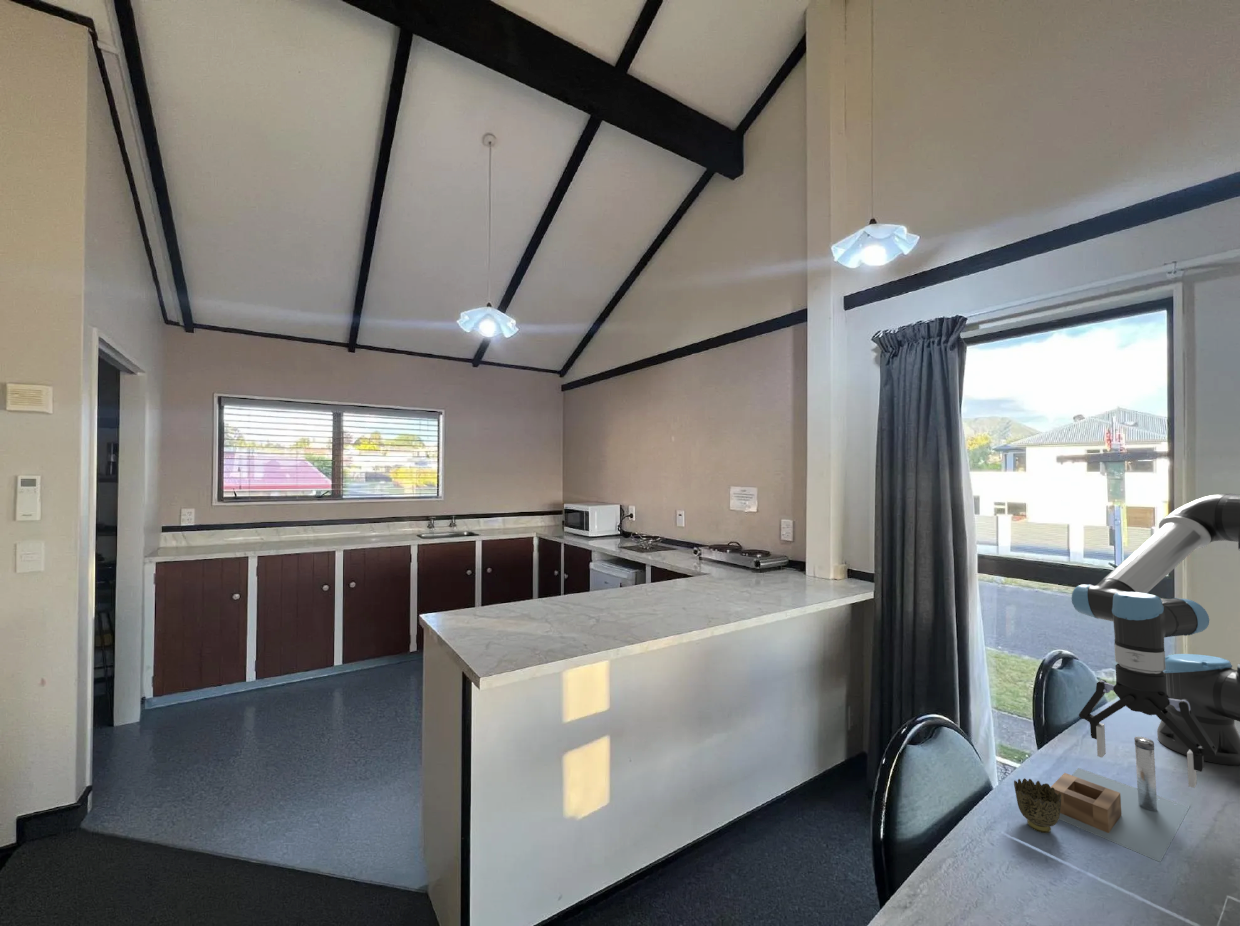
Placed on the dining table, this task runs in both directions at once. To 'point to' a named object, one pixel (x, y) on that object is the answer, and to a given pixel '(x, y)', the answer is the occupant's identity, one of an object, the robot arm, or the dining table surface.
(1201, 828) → the dining table surface
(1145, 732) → the dining table surface
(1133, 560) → the robot arm
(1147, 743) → the metal cylinder rod
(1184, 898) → the dining table surface
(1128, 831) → the mat
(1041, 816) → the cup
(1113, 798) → the wooden block with hole
